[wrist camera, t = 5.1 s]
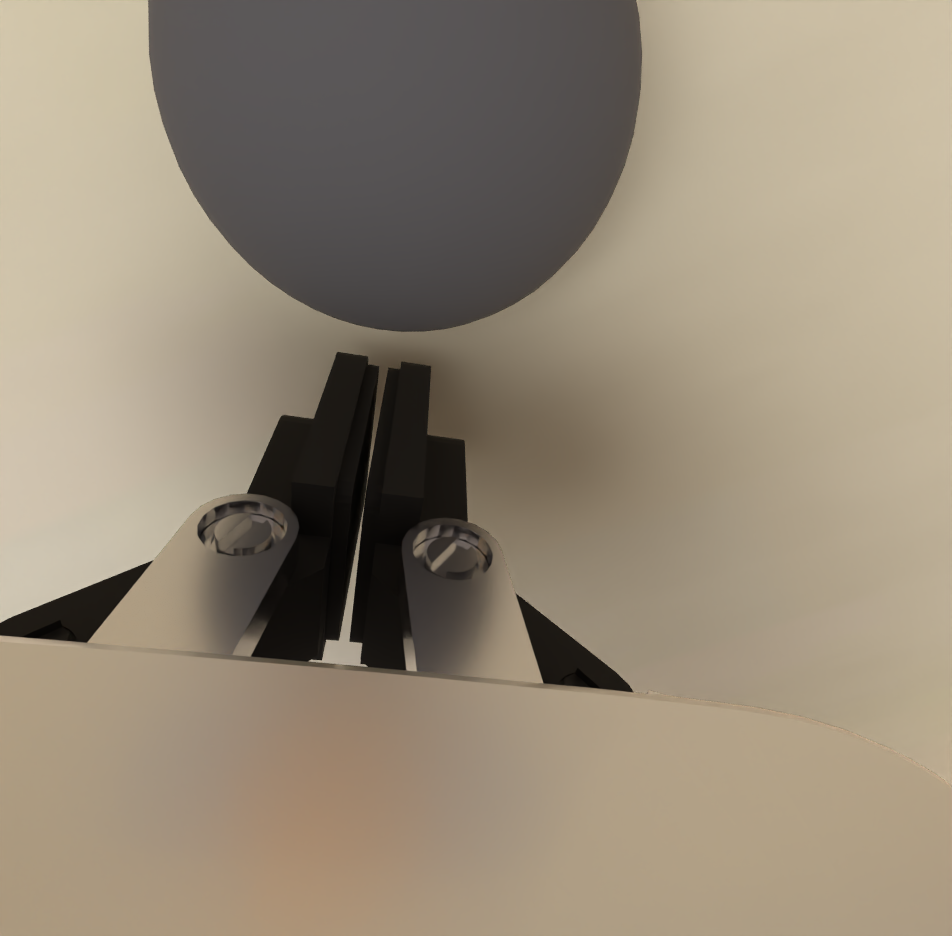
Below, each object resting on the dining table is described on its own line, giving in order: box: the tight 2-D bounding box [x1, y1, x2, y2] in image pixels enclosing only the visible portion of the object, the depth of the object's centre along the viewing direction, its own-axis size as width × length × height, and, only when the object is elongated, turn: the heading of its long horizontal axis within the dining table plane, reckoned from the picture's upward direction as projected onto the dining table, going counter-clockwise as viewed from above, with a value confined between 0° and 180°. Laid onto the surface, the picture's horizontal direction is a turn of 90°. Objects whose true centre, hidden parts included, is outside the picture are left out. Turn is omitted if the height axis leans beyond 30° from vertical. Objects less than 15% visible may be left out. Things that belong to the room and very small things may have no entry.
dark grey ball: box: [148, 0, 642, 332], centre depth 8 cm, size 6×6×6 cm
